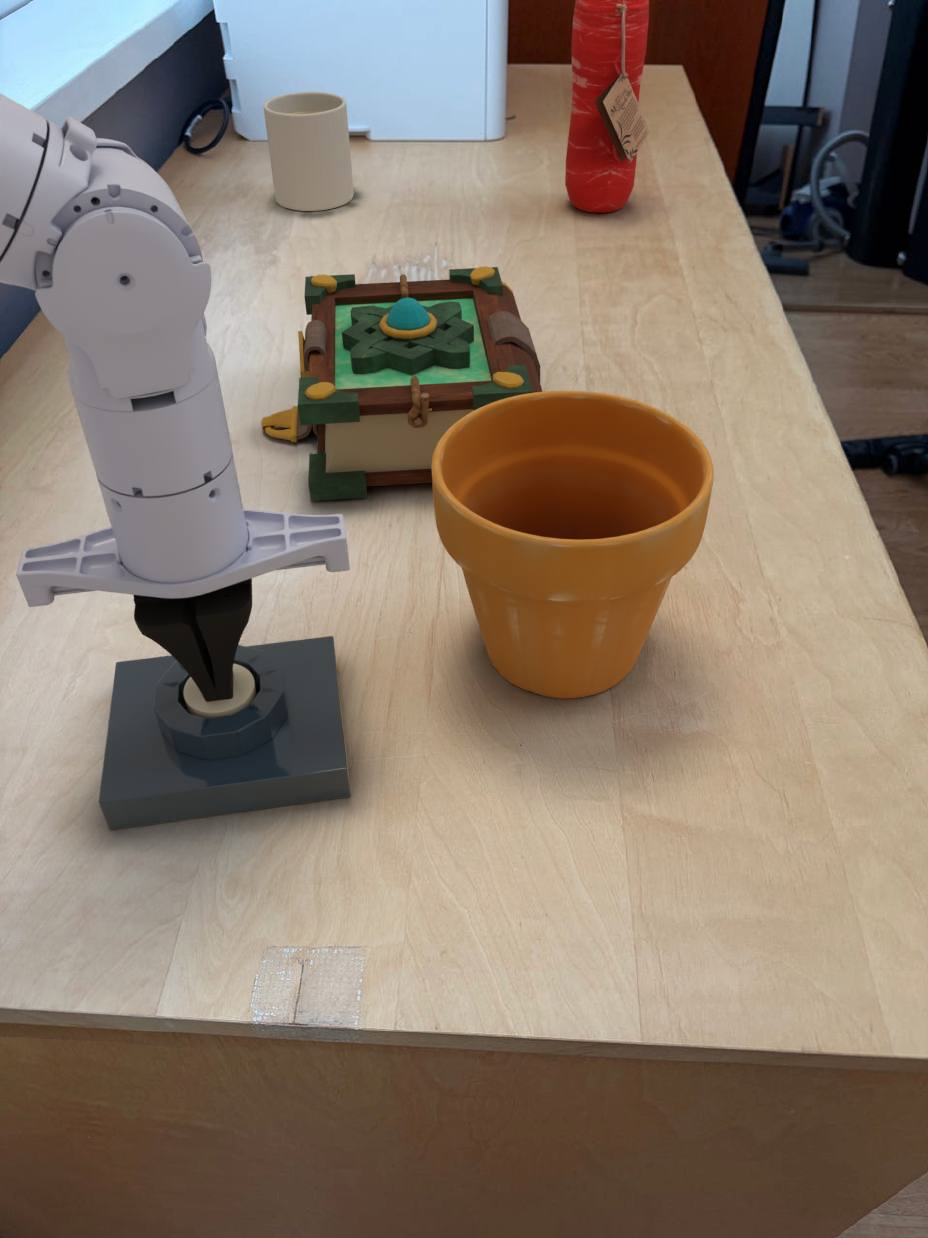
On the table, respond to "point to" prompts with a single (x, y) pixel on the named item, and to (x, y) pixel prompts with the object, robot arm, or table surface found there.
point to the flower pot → (569, 529)
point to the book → (400, 373)
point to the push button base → (225, 739)
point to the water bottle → (606, 102)
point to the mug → (309, 150)
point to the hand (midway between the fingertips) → (219, 687)
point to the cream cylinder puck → (241, 699)
